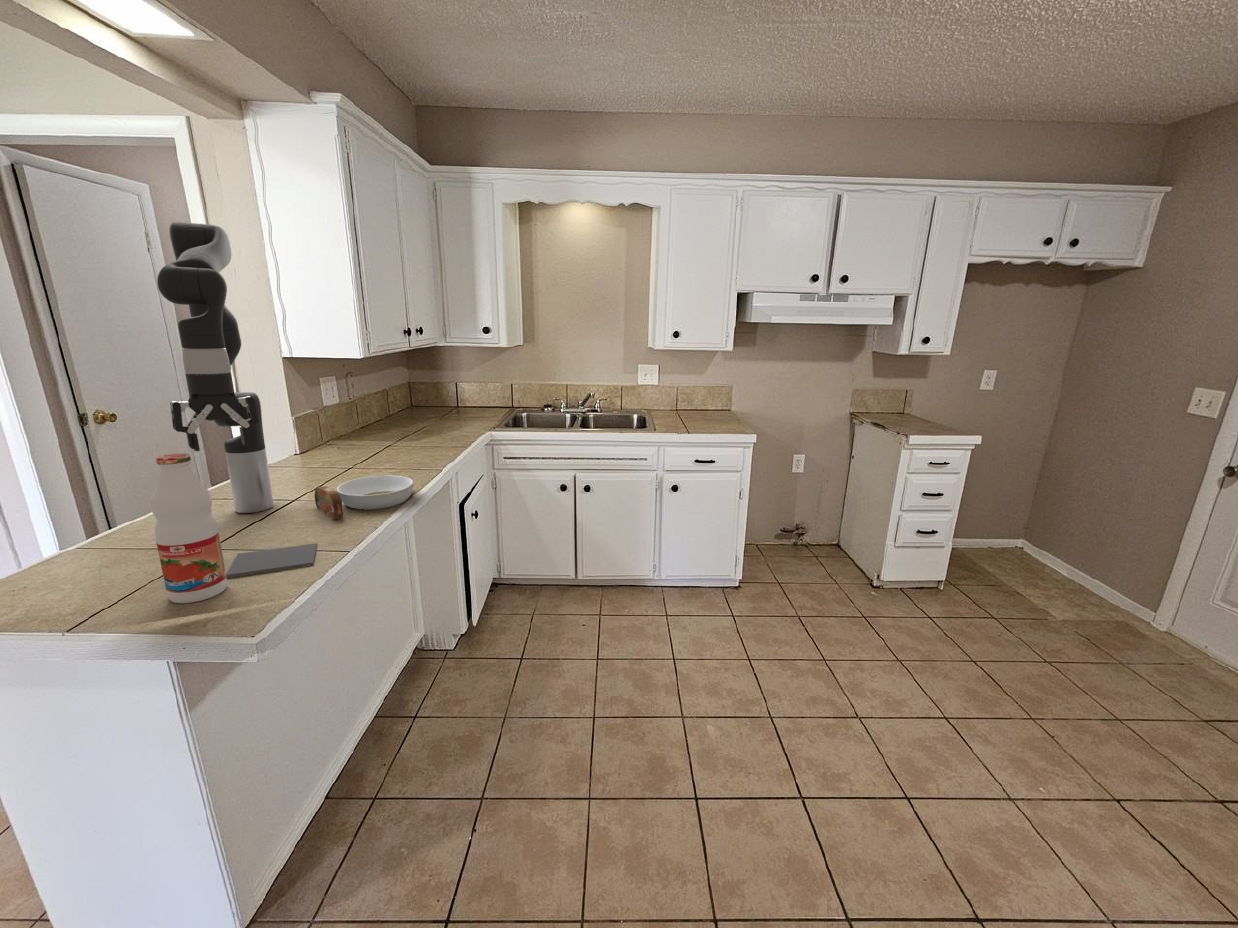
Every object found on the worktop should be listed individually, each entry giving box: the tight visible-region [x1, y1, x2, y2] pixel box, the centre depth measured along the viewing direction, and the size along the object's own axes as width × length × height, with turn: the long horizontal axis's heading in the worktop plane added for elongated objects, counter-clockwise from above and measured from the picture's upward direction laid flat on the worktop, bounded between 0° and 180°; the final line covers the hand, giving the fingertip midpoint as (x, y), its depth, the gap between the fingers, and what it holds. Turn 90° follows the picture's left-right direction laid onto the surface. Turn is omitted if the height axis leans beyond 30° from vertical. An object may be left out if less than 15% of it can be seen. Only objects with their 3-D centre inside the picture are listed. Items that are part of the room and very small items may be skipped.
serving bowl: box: [336, 474, 414, 511], centre depth 157 cm, size 21×21×7 cm
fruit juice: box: [149, 453, 228, 604], centre depth 100 cm, size 9×9×28 cm
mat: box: [226, 542, 318, 579], centre depth 118 cm, size 12×16×1 cm
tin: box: [314, 485, 344, 521], centre depth 146 cm, size 15×3×8 cm, turn 47°
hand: (221, 447), depth 111 cm, fingers open, 8 cm apart
